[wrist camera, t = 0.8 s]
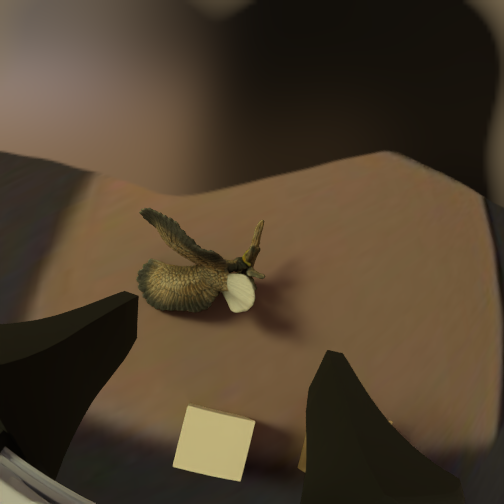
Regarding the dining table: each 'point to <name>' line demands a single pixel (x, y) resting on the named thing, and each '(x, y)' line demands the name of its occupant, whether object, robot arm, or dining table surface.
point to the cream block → (214, 442)
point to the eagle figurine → (197, 272)
